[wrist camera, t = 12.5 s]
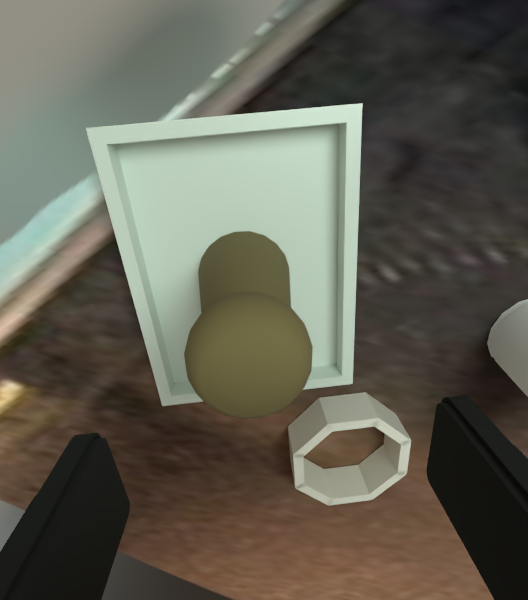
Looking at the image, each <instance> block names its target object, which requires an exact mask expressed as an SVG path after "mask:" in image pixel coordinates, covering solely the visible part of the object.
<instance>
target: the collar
mask: <svg viewBox="0 0 528 600" xmlns="http://www.w3.org/2000/svg"><path fill="white" fill-rule="evenodd" d="M366 427H376V428H377V429H379V430H380V431H382V432H383V433H385V435H384V444H383V445H382V446H381V447H380V448H378V449H377V450H376V451H375V452H373V453H372V454H371V455H370V456H368V457H367V458H366V459H365V460H363V461H362V462H361V463H360V464H358V465H353V466H345V467H337V468H329V469H323V468H321V467H319V466H317V465H316V464H314V463H312V462H310V461H309V460H307V459H305V458H303V456H305V455H306V454H307V453H308V452H309V451H310V450H312V449H313V448H314V447H315V446H316V445H317V444H318V443H320V442H321V441H322V440H323V439H324V438H325V437H327V436H328V435H329V434H330V433H331V432H333V431H341V430H350V429H358V428H366ZM288 435H289V449H290V461H291V467H292V472H293V478H294V484H295V488H296V489H298V490H300V491H301V492H303V493H305V494H307V495H309V496H311V497H313V498H315V499H317V500H319V501H321V502H323V503H324V504H326V505H336V504H343V503H351V502H359V501H367V500H373V499H374V498H375V497H377V496H378V495H379V494H381V493H382V492H383V491H385V490H386V489H387V488H389V487H390V486H391V485H393V484H394V483H395V482H397V481H398V480H399V479H401V478H402V477H403V476H405V475H406V474H407V467H408V460H409V453H410V446H411V439H410V437H409V436H408V434H407V432H406V431H405V429H404V427H403V426H402V424H401V422H400V421H399V419H398V417H397V415H396V414H395V413H394V412H392V411H391V410H390V409H388V408H387V407H385V406H384V405H383V404H381V403H380V402H378V401H377V400H376V399H374V398H373V397H371V396H370V395H369V394H367V393H366V392H363V393H354V394H346V395H338V396H329V397H321V398H318V399H317V400H316V401H315V402H314V403H313V404H312V405H311V406H310V407H308V408H307V409H306V410H305V411H304V412H303V413H302V414H301V415H300V416H299V417H298V418H296V419H295V420H294V421H293V422H292V423H291V424H290V425H289V426H288Z"/></svg>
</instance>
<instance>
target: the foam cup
mask: <svg viewBox="0 0 528 600" xmlns="http://www.w3.org/2000/svg"><path fill="white" fill-rule="evenodd" d="M487 345H488V348H489V352H490V355H491V356H492V357H493V358H494V359H495V361H496V362H497V363H498V365H499V366H500V367H501V368H502V369H503V370H504V371H505V372H506V373H507V375H508V376H509V377H510V378H511V379H512V380H513V381H514V382H515V384H516V385H517V386H518V387H519V388H520V389H521V390H522V391H523V392H524V394H525V395H526V396H527V397H528V299H527V300H524V301H520V302H518V303H517V304H515V305H514V306H512V307H511V308H509V309H508V310H506V311H505V312H503V313H502V314H501V316H500V317H499V318H498V320H497V321H496V322H495V324H494V325H493V326H492V327H491V330H490V334H489V338H488V341H487Z"/></svg>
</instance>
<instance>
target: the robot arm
mask: <svg viewBox="0 0 528 600" xmlns="http://www.w3.org/2000/svg"><path fill="white" fill-rule="evenodd" d="M427 477H428V480H429V483H430V485H431V486H432V488H433V490H434V492H435V494H436V495H437V497H438V499H439V501H440V503H441V504H442V506H443V508H444V510H445V512H446V513H447V515H448V517H449V519H450V521H451V522H452V524H453V526H454V528H455V530H456V531H457V533H458V535H459V537H460V539H461V540H462V542H463V544H464V546H465V548H466V549H467V551H468V553H469V555H470V556H471V558H472V560H473V562H474V564H475V565H476V567H477V569H478V571H479V573H480V574H481V576H482V578H483V580H484V582H485V583H486V585H487V587H488V589H489V591H490V592H491V594H492V596H493V598H494V600H528V459H527V458H526V457H525V456H524V455H523V453H522V452H521V451H520V450H519V449H518V448H516V447H515V446H514V445H512V444H511V442H510V441H509V440H508V439H507V438H506V437H505V436H504V435H503V434H502V433H501V431H500V430H499V429H498V428H497V427H496V426H495V425H494V424H493V423H492V422H491V421H490V419H489V418H488V417H487V416H486V415H485V414H484V413H483V412H482V411H481V410H480V409H479V407H478V406H477V405H476V404H475V403H474V402H473V401H472V400H471V399H470V398H469V397H468V396H465V395H464V396H455V397H445V398H443V399H442V402H441V403H439V404H438V405H437V407H436V413H435V419H434V426H433V432H432V439H431V445H430V451H429V458H428V464H427ZM129 509H130V504H129V499H128V497H127V494H126V491H125V488H124V486H123V483H122V480H121V478H120V475H119V472H118V469H117V467H116V464H115V461H114V459H113V456H112V453H111V451H110V448H109V445H108V442H107V440H106V439H105V438H101V436H100V435H99V434H98V433H92V434H82V435H75V436H74V437H73V438H72V439H71V440H70V442H69V444H68V445H67V447H66V449H65V450H64V452H63V454H62V455H61V457H60V458H59V460H58V462H57V463H56V465H55V467H54V468H53V470H52V472H51V473H50V475H49V476H48V478H47V480H46V481H45V483H44V485H43V486H42V488H41V489H40V491H39V493H38V494H37V495H36V496H35V497H34V499H33V500H32V501H31V503H30V505H29V506H28V508H27V510H26V511H25V513H24V514H23V516H22V518H21V519H20V521H19V523H18V524H17V526H16V528H15V529H14V531H13V532H12V534H11V536H10V537H9V539H8V540H7V542H6V544H5V545H4V547H3V549H2V550H1V552H0V600H101V598H102V595H103V592H104V589H105V586H106V583H107V580H108V577H109V574H110V571H111V568H112V564H113V561H114V558H115V555H116V552H117V549H118V546H119V543H120V540H121V537H122V534H123V531H124V528H125V525H126V521H127V518H128V515H129Z"/></svg>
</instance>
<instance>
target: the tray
mask: <svg viewBox="0 0 528 600" xmlns="http://www.w3.org/2000/svg"><path fill="white" fill-rule="evenodd" d="M361 128H362V103H361V104H350V105H338V106H327V107H316V108H305V109H294V110H283V111H272V112H261V113H249V114H238V115H227V116H216V117H205V118H194V119H183V120H171V121H160V122H150V123H138V124H128V125H116V126H105V127H94V128H86V131H87V134H88V138H89V142H90V145H91V149H92V152H93V156H94V160H95V163H96V167H97V171H98V174H99V178H100V182H101V185H102V189H103V193H104V196H105V200H106V203H107V207H108V211H109V214H110V218H111V222H112V225H113V229H114V232H115V236H116V240H117V243H118V247H119V251H120V254H121V258H122V262H123V265H124V269H125V272H126V276H127V280H128V283H129V287H130V291H131V294H132V298H133V301H134V305H135V309H136V312H137V316H138V320H139V323H140V327H141V331H142V334H143V338H144V341H145V345H146V349H147V352H148V356H149V360H150V363H151V367H152V370H153V374H154V378H155V381H156V385H157V389H158V392H159V396H160V399H161V403H162V406H168V405H177V404H185V403H194V402H202V401H203V400H202V399H201V398H200V397H199V396H198V395H197V394H196V393H195V391H194V389H193V387H192V386H191V384H190V382H189V380H188V377H187V372H186V365H185V358H184V352H185V348H186V344H187V340H188V336H189V332H190V329H191V328H192V326H193V325H194V323H195V322H196V320H197V319H198V317H199V316H200V314H201V302H200V289H199V276H198V270H199V266H200V261H201V258H202V256H203V255H204V253H205V251H206V250H207V248H208V247H209V246H210V245H211V244H212V243H213V242H215V241H216V240H217V239H218V238H220V237H221V236H224V235H227V234H230V233H232V232H240V231H251V232H255V233H258V234H262V235H265V236H266V237H268V238H269V239H271V240H272V241H274V242H275V243H276V244H277V245H278V246H279V248H280V249H281V250H282V251H283V253H284V254H285V256H286V259H287V262H288V265H289V274H290V296H291V308H292V309H293V310H294V311H295V313H296V314H297V315H298V316H299V318H300V319H301V320H302V321H303V322H304V324H305V326H306V329H307V331H308V334H309V337H310V340H311V343H312V346H313V350H312V370H311V373H310V376H309V378H308V380H307V383H306V385H305V387H304V388H303V390H304V389H313V388H321V387H329V386H338V385H346V384H353V359H354V330H355V301H356V272H357V244H358V215H359V186H360V157H361Z"/></svg>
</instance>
